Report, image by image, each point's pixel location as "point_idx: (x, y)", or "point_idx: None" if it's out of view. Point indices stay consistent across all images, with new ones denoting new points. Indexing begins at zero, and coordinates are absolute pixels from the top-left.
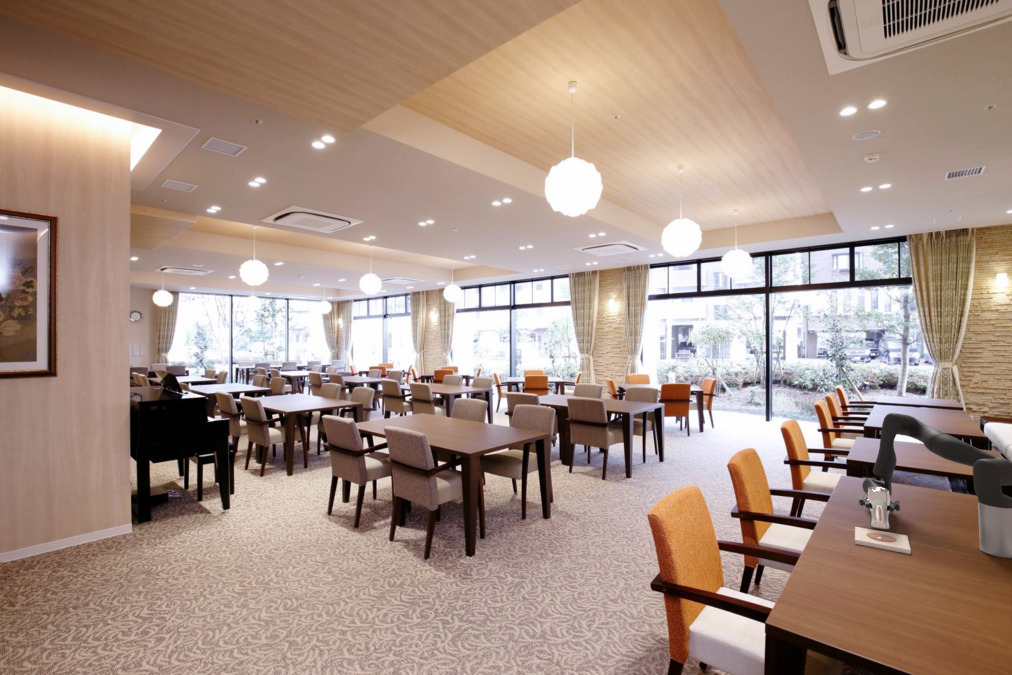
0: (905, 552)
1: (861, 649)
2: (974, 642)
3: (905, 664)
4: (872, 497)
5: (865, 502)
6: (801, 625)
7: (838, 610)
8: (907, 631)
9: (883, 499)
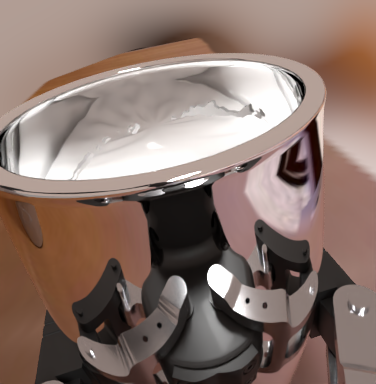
0: None
1: (138, 51)
2: (57, 85)
3: (111, 57)
4: (219, 146)
5: (338, 269)
6: (181, 43)
7: (164, 58)
8: (108, 70)
9: (115, 170)
